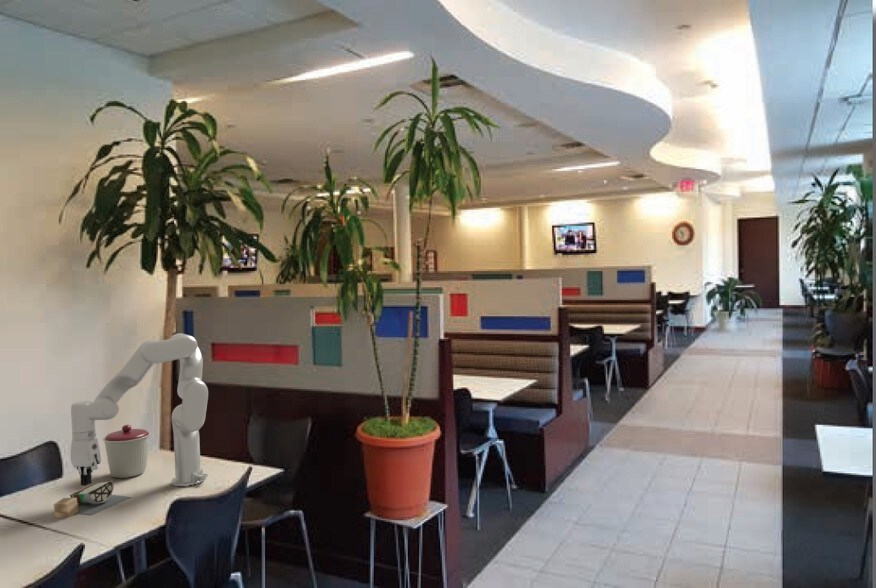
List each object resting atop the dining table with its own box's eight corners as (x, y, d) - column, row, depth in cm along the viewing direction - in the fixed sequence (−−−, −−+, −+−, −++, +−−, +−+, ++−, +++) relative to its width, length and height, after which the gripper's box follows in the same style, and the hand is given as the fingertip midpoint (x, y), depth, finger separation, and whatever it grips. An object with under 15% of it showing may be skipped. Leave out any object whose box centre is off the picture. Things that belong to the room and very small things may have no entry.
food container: (70, 513, 228) (92, 510, 225) (66, 496, 227) (87, 493, 225) (97, 498, 240) (118, 495, 237) (93, 482, 239) (114, 480, 236)
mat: (131, 498, 237) (131, 497, 237) (90, 515, 220) (90, 514, 220) (107, 495, 241) (107, 493, 241) (65, 512, 224) (65, 511, 224)
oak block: (78, 511, 224) (76, 497, 223) (68, 517, 219) (67, 504, 218) (65, 511, 224) (63, 497, 224) (55, 517, 219) (53, 504, 219)
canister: (94, 478, 261) (92, 428, 260) (130, 466, 278) (128, 418, 277) (126, 483, 254) (124, 431, 253) (161, 470, 271) (159, 421, 270)
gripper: (108, 433, 233) (110, 483, 233) (77, 431, 238) (79, 479, 238) (90, 439, 226) (92, 489, 226) (59, 436, 231) (62, 486, 231)
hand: (86, 484), depth 232 cm, fingers closed
